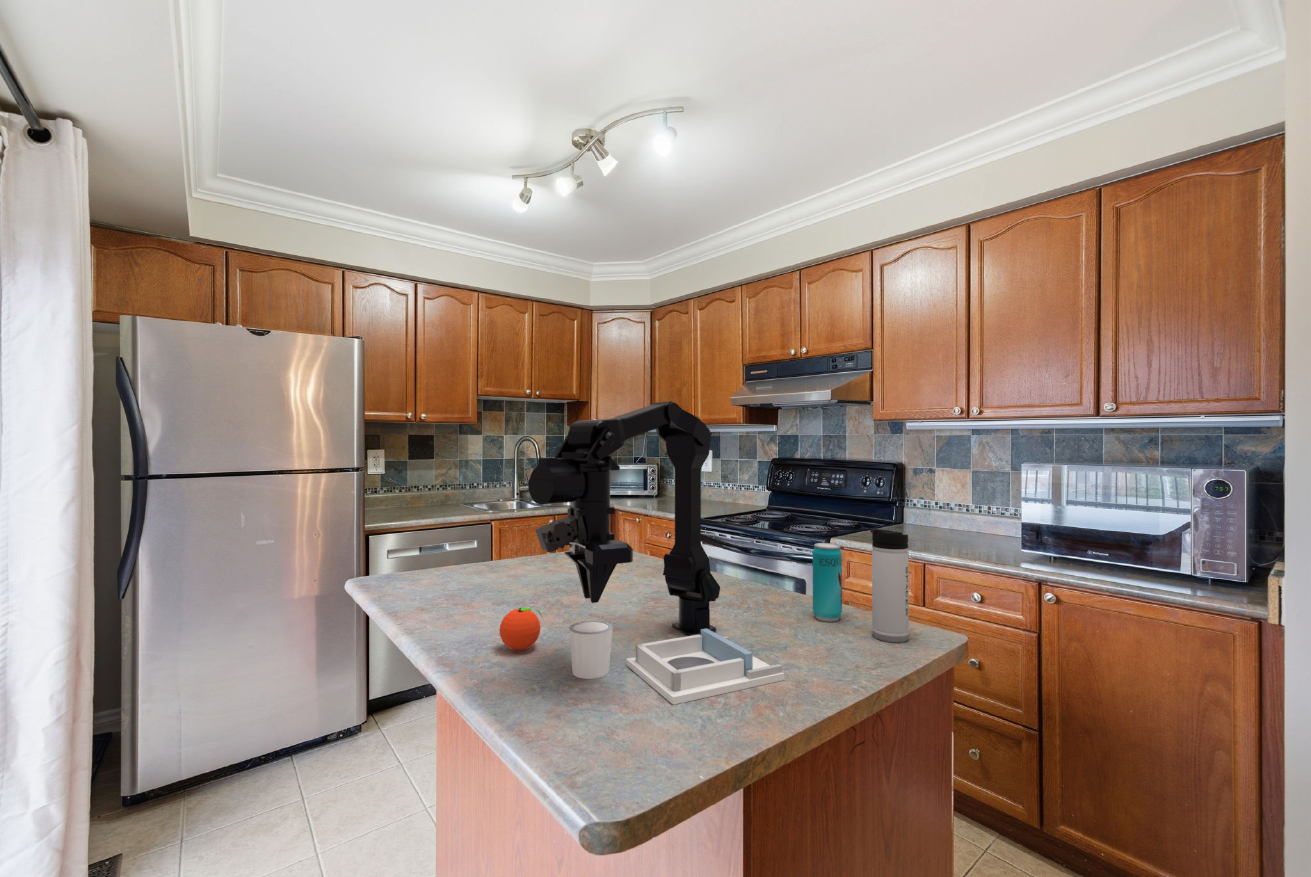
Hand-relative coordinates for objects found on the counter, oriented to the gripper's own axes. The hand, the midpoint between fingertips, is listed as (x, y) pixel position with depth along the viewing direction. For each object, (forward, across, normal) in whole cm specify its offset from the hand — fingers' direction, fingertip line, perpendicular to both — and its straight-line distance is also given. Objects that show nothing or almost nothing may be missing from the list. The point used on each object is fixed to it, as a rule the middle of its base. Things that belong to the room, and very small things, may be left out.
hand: (591, 600), depth 91 cm
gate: (+10, +8, +20) cm, 23 cm away
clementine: (+11, -15, -7) cm, 20 cm away
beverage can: (+11, -5, +53) cm, 54 cm away
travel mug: (+11, +9, +55) cm, 57 cm away
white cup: (+11, 0, 0) cm, 11 cm away
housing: (+11, +8, +16) cm, 21 cm away
